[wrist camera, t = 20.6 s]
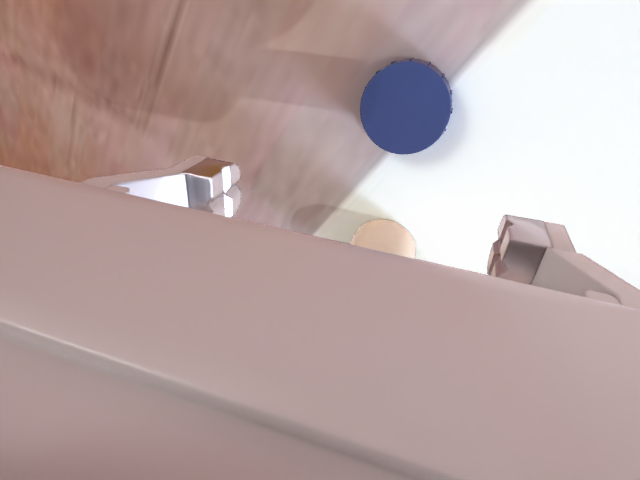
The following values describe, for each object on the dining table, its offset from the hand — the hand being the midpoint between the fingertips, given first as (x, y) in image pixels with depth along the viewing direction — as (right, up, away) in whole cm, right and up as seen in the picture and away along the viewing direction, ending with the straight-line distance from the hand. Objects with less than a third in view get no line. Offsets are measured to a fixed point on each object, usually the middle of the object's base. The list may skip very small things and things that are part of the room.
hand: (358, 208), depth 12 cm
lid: (+4, +8, +14) cm, 17 cm away
